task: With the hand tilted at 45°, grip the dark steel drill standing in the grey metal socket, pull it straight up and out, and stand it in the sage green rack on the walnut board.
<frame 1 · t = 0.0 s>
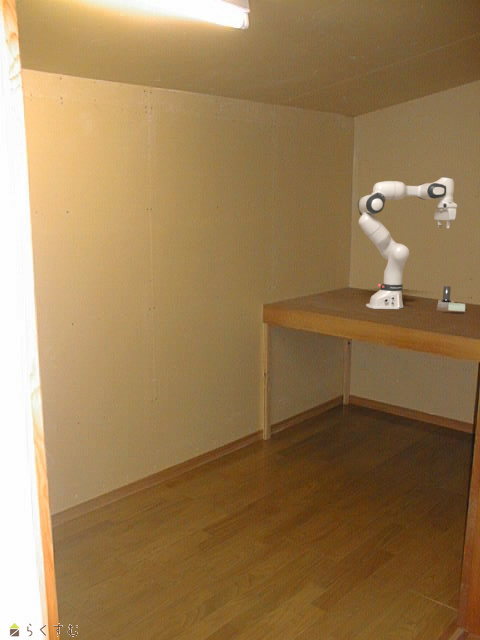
hand: (443, 228, 359), 48 cm above the table, tool pointing down, fingers open, 8 cm apart
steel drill: (445, 306, 358), point 1 cm above the table, touching tool board
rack: (456, 311, 347), resting on tool board
socket: (445, 308, 358), resting on tool board
tool board: (450, 310, 353), on the table
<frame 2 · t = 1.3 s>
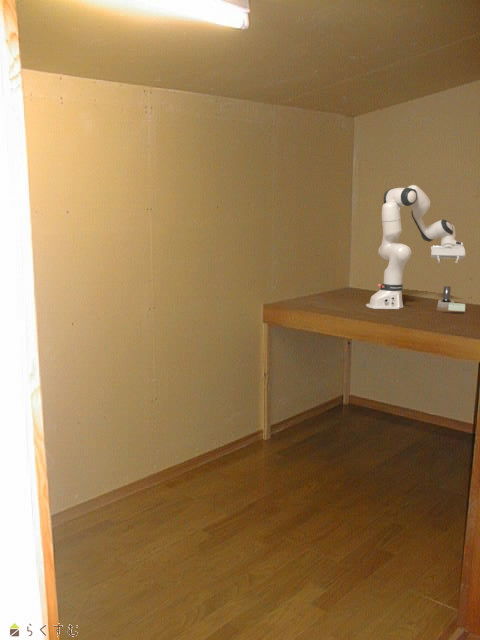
hand: (447, 262, 365), 27 cm above the table, tool tilted 45°, fingers open, 8 cm apart
nothing on the table moved.
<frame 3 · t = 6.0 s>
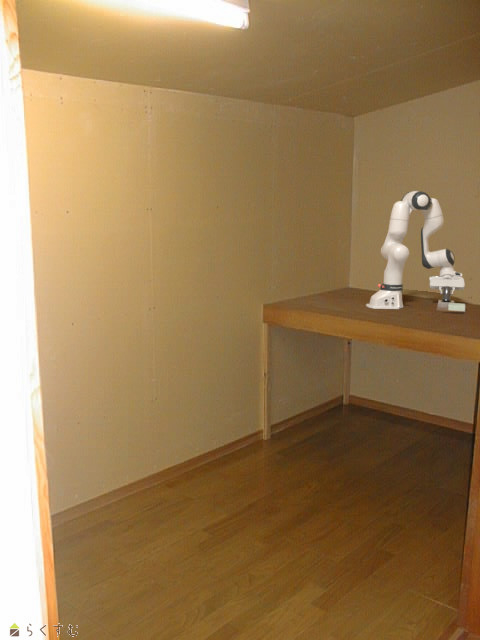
hand: (446, 294, 356), 9 cm above the table, tool tilted 45°, fingers closed on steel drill, 4 cm apart
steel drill: (445, 306, 358), point 2 cm above the table, touching gripper, tool board
everything else where it was.
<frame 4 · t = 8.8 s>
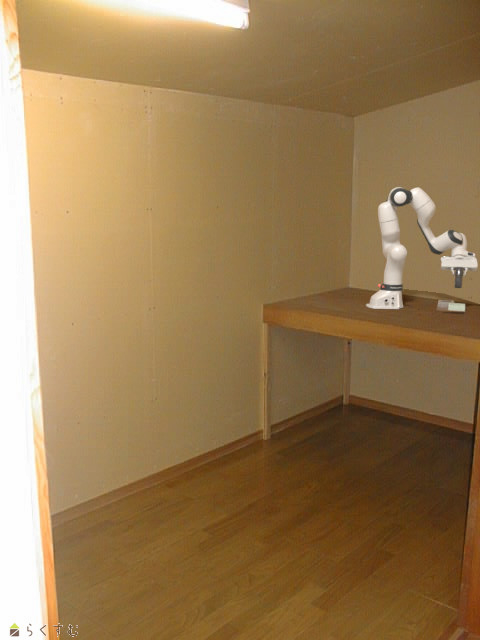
hand: (459, 275, 343), 22 cm above the table, tool tilted 45°, fingers closed on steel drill, 4 cm apart
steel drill: (458, 287, 345), point 14 cm above the table, touching gripper
everything else where it was.
when the fingers open (10 cm above the table, at t = 11.8 s): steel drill drops 1 cm, resting on tool board.
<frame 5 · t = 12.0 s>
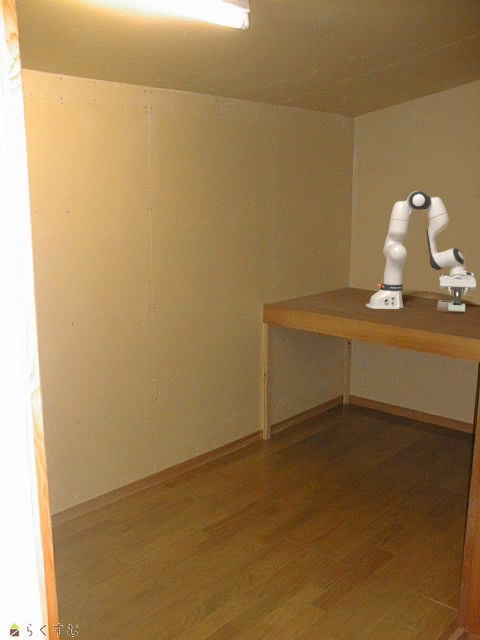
hand: (457, 294, 345), 10 cm above the table, tool tilted 45°, fingers open, 6 cm apart
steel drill: (456, 309, 347), point 2 cm above the table, touching tool board
everything else where it was.
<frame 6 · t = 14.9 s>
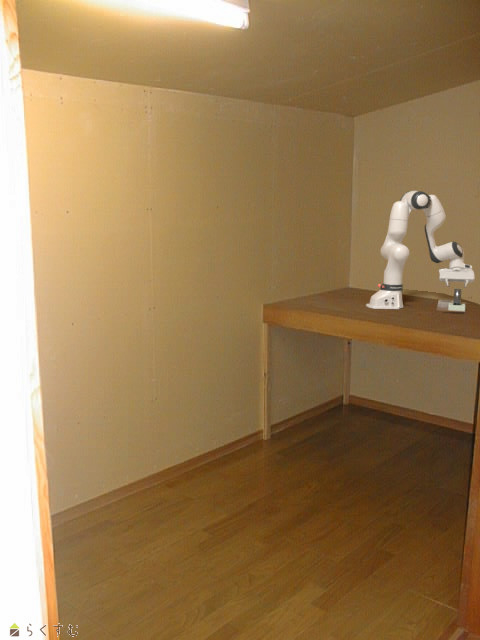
hand: (456, 286, 356), 13 cm above the table, tool tilted 45°, fingers open, 8 cm apart
nothing on the table moved.
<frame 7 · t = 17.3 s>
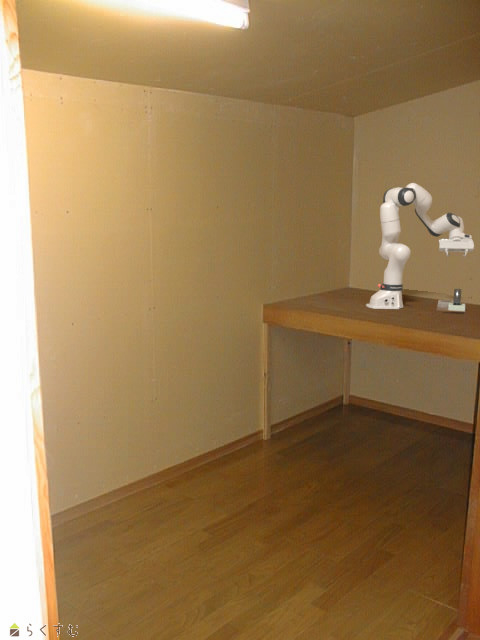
hand: (456, 255, 359), 31 cm above the table, tool tilted 45°, fingers open, 8 cm apart
nothing on the table moved.
at the end: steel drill 0.1 cm from the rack (horizontally); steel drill tilted 0°; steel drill point 1.5 cm above the table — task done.
